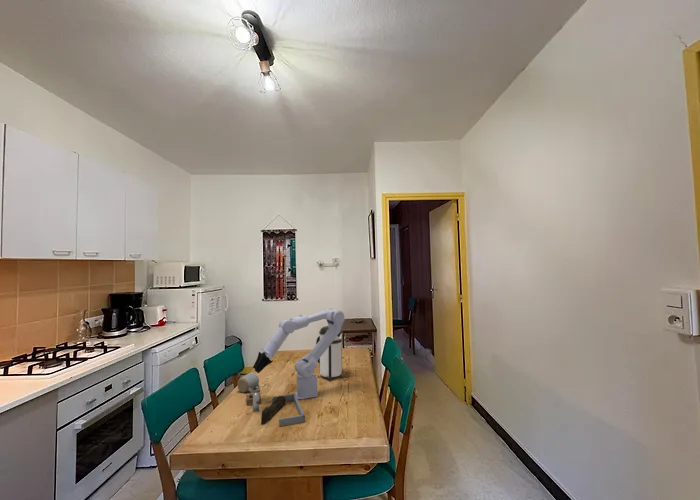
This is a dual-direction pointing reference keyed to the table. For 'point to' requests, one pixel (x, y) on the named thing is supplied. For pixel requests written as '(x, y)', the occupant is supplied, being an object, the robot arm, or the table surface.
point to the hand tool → (272, 409)
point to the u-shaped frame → (292, 419)
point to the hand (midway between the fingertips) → (255, 370)
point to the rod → (256, 401)
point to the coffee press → (331, 356)
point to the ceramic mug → (248, 383)
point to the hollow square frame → (251, 399)
